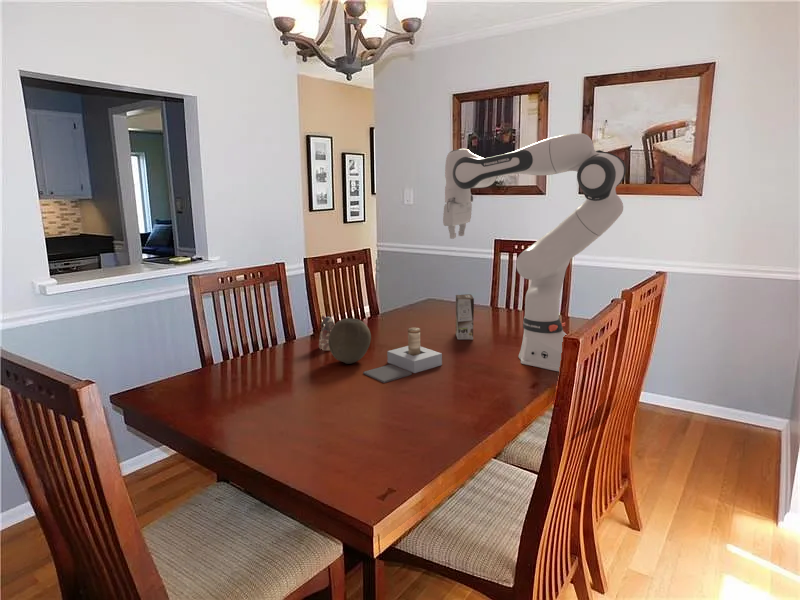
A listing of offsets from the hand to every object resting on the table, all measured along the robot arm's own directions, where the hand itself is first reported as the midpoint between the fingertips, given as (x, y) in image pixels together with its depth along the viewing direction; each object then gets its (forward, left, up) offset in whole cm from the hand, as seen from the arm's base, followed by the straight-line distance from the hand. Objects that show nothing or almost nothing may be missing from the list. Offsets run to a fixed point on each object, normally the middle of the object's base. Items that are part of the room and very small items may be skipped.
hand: (457, 237), depth 190 cm
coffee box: (+7, -12, -41) cm, 43 cm away
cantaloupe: (+11, +39, -41) cm, 58 cm away
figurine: (+30, +36, -41) cm, 62 cm away
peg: (-5, +24, -40) cm, 47 cm away
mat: (-7, +37, -40) cm, 55 cm away
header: (-5, +24, -40) cm, 47 cm away
